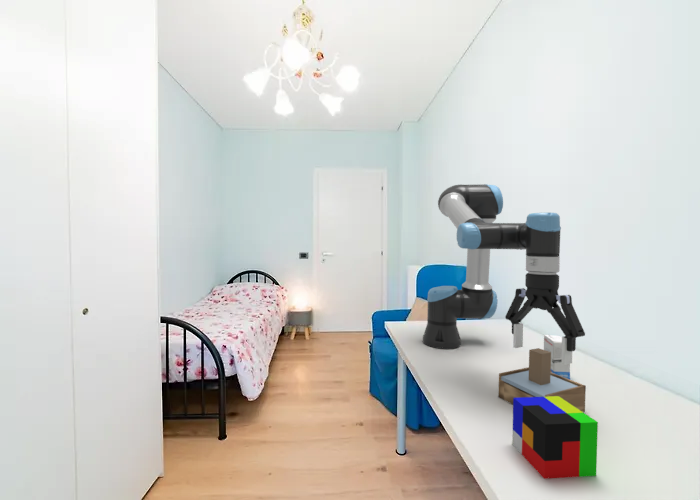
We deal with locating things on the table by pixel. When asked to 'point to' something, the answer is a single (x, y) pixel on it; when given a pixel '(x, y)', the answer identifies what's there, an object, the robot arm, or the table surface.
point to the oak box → (570, 395)
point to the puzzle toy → (555, 437)
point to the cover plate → (535, 387)
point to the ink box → (556, 355)
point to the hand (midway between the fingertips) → (540, 354)
